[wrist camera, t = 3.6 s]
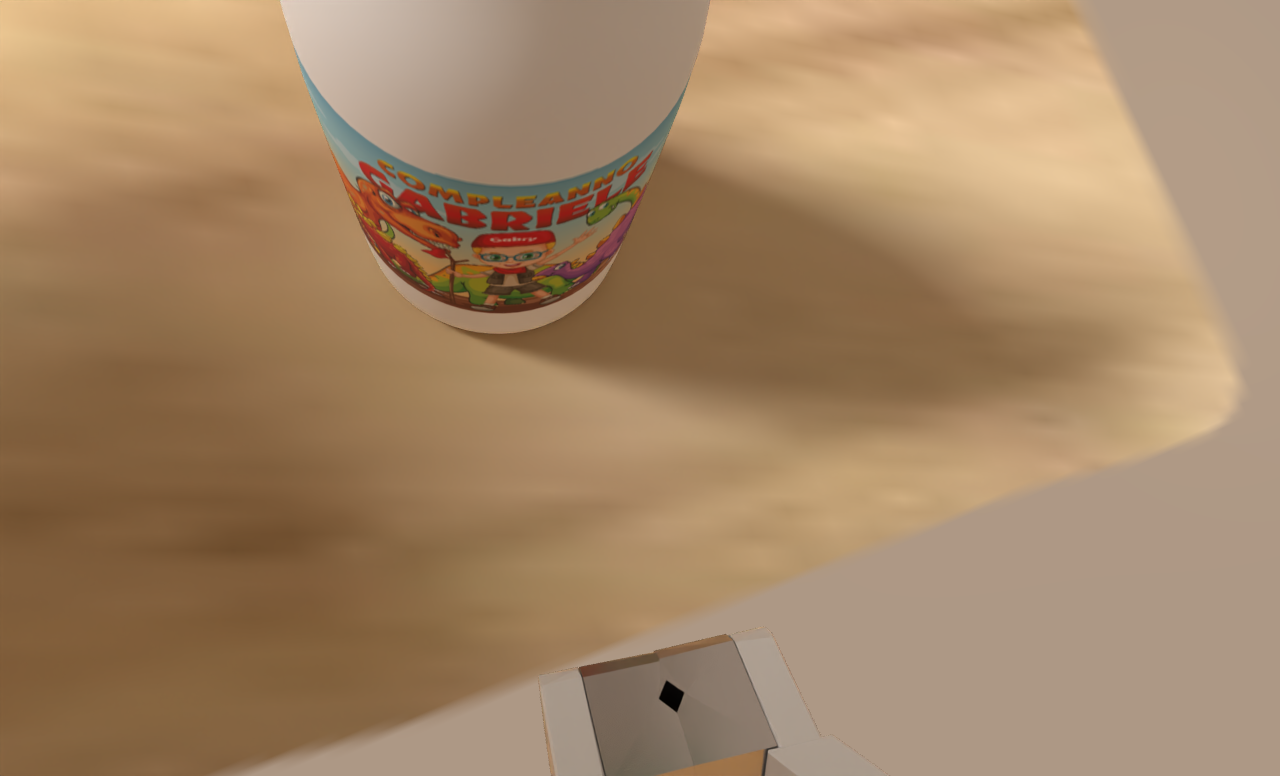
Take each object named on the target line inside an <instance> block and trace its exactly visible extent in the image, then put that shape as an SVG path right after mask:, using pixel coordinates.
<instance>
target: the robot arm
mask: <svg viewBox="0 0 1280 776" xmlns="http://www.w3.org/2000/svg"><path fill="white" fill-rule="evenodd" d="M538 681H539V689H540V697H541V705H542V713H543V721H544V729H545V736H546V744H547V751H548V758H549V765H550V771H551V776H889V775H888V774H887V773H885V772H884V771H882V770H881V769H880V768H878V767H877V766H876V765H874V764H873V763H871V762H870V761H869V760H867V759H866V758H864V757H863V756H862V755H860V754H859V753H858V752H856V751H855V750H853V749H852V748H851V747H849V746H848V745H846V744H845V743H843V742H842V741H841V740H840V739H838V738H837V737H835V736H834V735H828V736H823V737H821V734H820V732H819V730H818V728H817V726H816V724H815V722H814V720H813V718H812V716H811V714H810V711H809V709H808V707H807V705H806V703H805V701H804V699H803V697H802V695H801V693H800V691H799V688H798V686H797V684H796V682H795V680H794V678H793V676H792V674H791V672H790V670H789V668H788V665H787V663H786V661H785V659H784V657H783V655H782V653H781V651H780V649H779V647H778V645H777V642H776V640H775V638H774V636H773V634H772V633H771V632H770V631H769V630H768V629H767V628H766V627H759V628H755V629H751V630H747V631H742V632H739V633H735V634H730V635H726V634H724V635H719V636H715V637H711V638H706V639H702V640H698V641H694V642H690V643H685V644H682V645H677V646H672V647H669V648H664V649H660V650H656V651H654V652H653V653H648V654H642V655H637V656H633V657H628V658H622V659H617V660H612V661H607V662H602V663H597V664H592V665H587V666H582V667H579V668H578V667H575V668H571V669H566V670H561V671H557V672H552V673H548V674H543V675H539V676H538Z"/></svg>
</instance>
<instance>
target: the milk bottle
mask: <svg viewBox="0 0 1280 776" xmlns="http://www.w3.org/2000/svg"><path fill="white" fill-rule="evenodd" d="M280 3H281V6H282V10H283V13H284V17H285V20H286V23H287V26H288V30H289V33H290V36H291V39H292V42H293V46H294V49H295V52H296V55H297V58H298V62H299V65H300V68H301V71H302V74H303V78H304V80H305V83H306V86H307V88H308V91H309V94H310V96H311V99H312V102H313V104H314V107H315V110H316V112H317V115H318V118H319V120H320V123H321V126H322V128H323V131H324V134H325V136H326V139H327V142H328V144H329V147H330V150H331V152H332V155H333V158H334V160H335V163H336V165H337V168H338V170H339V173H340V175H341V178H342V180H343V183H344V185H345V188H346V191H347V193H348V196H349V198H350V201H351V203H352V206H353V208H354V211H355V213H356V216H357V218H358V221H359V223H360V226H361V228H362V230H363V233H364V235H365V238H366V240H367V243H368V245H369V247H370V249H371V251H372V253H373V255H374V257H375V259H376V261H377V263H378V265H379V267H380V268H381V270H382V272H383V273H384V275H385V276H386V278H387V279H388V280H389V282H390V283H391V284H392V285H393V286H394V288H395V289H396V290H397V291H398V292H399V293H400V294H401V295H402V296H403V297H404V298H405V299H406V300H408V301H409V302H410V303H411V304H413V305H414V306H415V307H416V308H418V309H420V310H421V311H423V312H424V313H426V314H427V315H429V316H431V317H433V318H435V319H437V320H439V321H441V322H443V323H446V324H448V325H451V326H454V327H457V328H460V329H464V330H469V331H474V332H481V333H491V334H505V333H516V332H522V331H528V330H531V329H535V328H539V327H542V326H544V325H547V324H549V323H552V322H554V321H556V320H558V319H560V318H562V317H564V316H565V315H567V314H569V313H570V312H572V311H573V310H575V309H576V308H577V307H578V306H580V305H581V304H582V303H583V302H584V301H585V300H586V299H588V298H589V297H590V296H591V295H592V294H593V292H594V291H595V290H596V289H597V288H598V286H599V285H600V284H601V282H602V281H603V279H604V278H605V276H606V275H607V273H608V271H609V269H610V267H611V265H612V264H613V262H614V260H615V258H616V256H617V254H618V252H619V250H620V247H621V245H622V243H623V241H624V238H625V236H626V234H627V231H628V229H629V227H630V224H631V222H632V220H633V217H634V215H635V213H636V210H637V208H638V206H639V203H640V201H641V199H642V196H643V194H644V192H645V189H646V187H647V185H648V182H649V180H650V178H651V175H652V173H653V170H654V168H655V165H656V163H657V161H658V158H659V156H660V153H661V151H662V148H663V146H664V143H665V141H666V138H667V136H668V134H669V131H670V129H671V126H672V124H673V121H674V119H675V116H676V114H677V112H678V109H679V107H680V104H681V101H682V99H683V96H684V93H685V90H686V87H687V84H688V81H689V78H690V75H691V72H692V70H693V67H694V64H695V61H696V58H697V55H698V52H699V48H700V45H701V41H702V38H703V34H704V29H705V24H706V19H707V14H708V9H709V4H710V0H280Z"/></svg>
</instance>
